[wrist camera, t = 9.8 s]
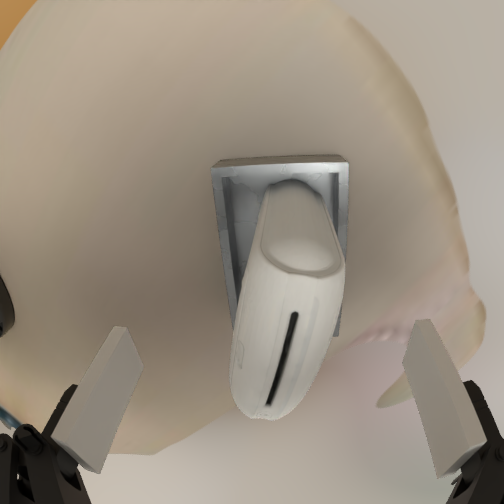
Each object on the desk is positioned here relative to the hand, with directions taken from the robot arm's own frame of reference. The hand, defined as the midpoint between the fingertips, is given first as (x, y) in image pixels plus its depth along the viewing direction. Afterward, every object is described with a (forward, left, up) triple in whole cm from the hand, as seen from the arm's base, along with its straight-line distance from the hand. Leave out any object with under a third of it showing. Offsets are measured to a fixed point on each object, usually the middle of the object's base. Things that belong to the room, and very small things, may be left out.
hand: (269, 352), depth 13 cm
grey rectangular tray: (0, 0, -11) cm, 11 cm away
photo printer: (0, 0, -11) cm, 11 cm away
